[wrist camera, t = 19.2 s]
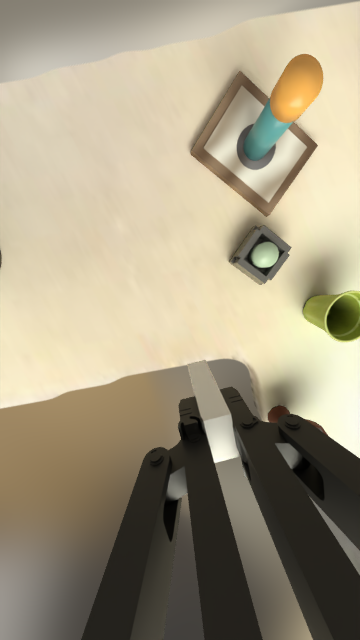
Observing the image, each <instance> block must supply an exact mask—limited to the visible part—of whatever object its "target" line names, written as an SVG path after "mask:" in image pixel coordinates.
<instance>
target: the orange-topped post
mask: <svg viewBox="0 0 360 640" xmlns="http://www.w3.org/2000/svg"><path fill="white" fill-rule="evenodd" d="M322 84H323V71H322V68H321V65H320V63H319V62H318V61H317V59H316V58H314V57H313V56H311V55H308V54H301V55H298V56H296V57H294V58H293V59H292V60H291V61H290V62H289V63H288V65H287V66H286V68H285V70H284V72H283V73H282V75H281V77H280V78H279V80H278V82H277V83H276V85H275V87H274V89H273V91H272V93H271V97H270V98H269V100H268V102H267V103H266V105H265V107H264V109H263V110H262V112H261V114H260V115H259V117H258V119H257V120H256V122H255V124H254V125H253V127H252V129H251V130H250V132H249V134H248V135H247V137H246V139H245V141H244V145H243V149H244V153H245V155H246V156H247V158H248V159H250V160H252V161H258V160H260V159H262V158H263V157H264V156H265V155H266V154H267V152H268V151H269V150H270V149H271V148H272V147H273V145H274V144H275V143H276V142H277V141H278V139H279V138H280V137H281V136H282V135H283V134H284V132H285V131H286V130H287V129H288V128H289V126H290V125H291V124H292V123H293V122H294V121H295V120H297V119H298V118H299V117H300V116H301V115H302V114H303V112H304V111H305V110H306V109H307V108H308V107H309V105H310V104H311V103H312V102H313V101H314V100H315V98H316V97H317V96H318V94H319V93H320V90H321V88H322Z"/></svg>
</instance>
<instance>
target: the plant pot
mask: <svg viewBox="0 0 360 640" xmlns="http://www.w3.org/2000/svg"><path fill="white" fill-rule="evenodd" d="M303 314H304V317H305V319H306V320H307V321H309V322H310V323H312V324H314V325H316V326H317V327H319V328H321V329H323V330H324V331H326V332H327V334H328V335H329V336H330V337H331V338H332V339H334V340H336V341H339V342H352V341H354V340H357V339H359V338H360V291H347V292H344V293H342V294H339V295H317V296H314V297H312V298H310V299H309V300H308V301H307V302H306V305H305V307H304V309H303Z"/></svg>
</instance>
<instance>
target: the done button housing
mask: <svg viewBox="0 0 360 640" xmlns="http://www.w3.org/2000/svg"><path fill="white" fill-rule="evenodd" d="M264 242H271V243H273V244H275V245H276V246H277V248H278V251H279V256H278V259H277V261H276V263H275V264H274V265H272V266H270V267H264V268H257V267H254V266H253V265H251V263H250V261H249V252H250V250H251V249H252V248H253V247H254V246H255V245H258V244H261V243H264ZM290 249H291V247H290V246H289V245H288V244H287V243H285V242H284V241H283V240H282V239H280V238H279V237H278V236H277V235H276V234H274V233H273V232H272V231H271V230H269V229H268V228H267V227H266V226H264V225H263V226H261V227H257V226H254V227H253V228H252V229H251V231H250V232H249V234H248V235H247V237H246V238H245V239H244V241H243V242H242V244H241V245H240V247H239V248H238V250H237V251H236V253H235V254H234V255H233V257H232V258H231V260H230V261H229V263H231V264H232V265H233V266H235V267H236V268H237V269H239V270H240V271H242V272H243V273H244V274H246V275H247V276H248V277H250V278H251V279H252V280H254V281H255V282H256V283H258V284H259V285H262V284H265V283H266V282H267V280H272V278H273V277H274V276H275V274H276V273H277V272H278V270H279V269H280V268H281V266H282V265H283V263H284V262H285V261H286V259H287V258H288V257H289V254H288V252H289V250H290Z"/></svg>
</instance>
